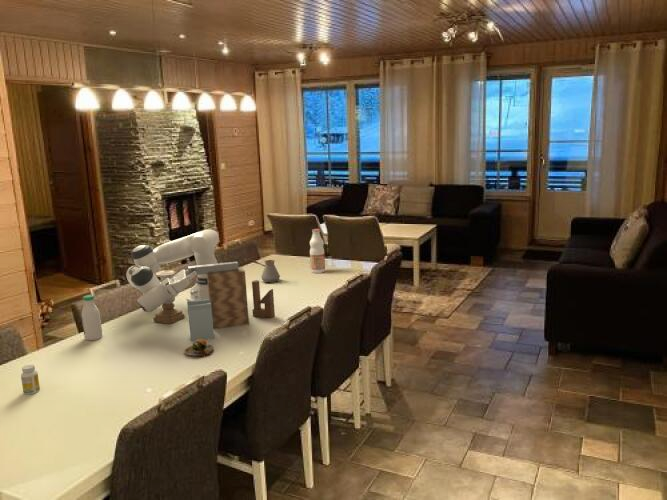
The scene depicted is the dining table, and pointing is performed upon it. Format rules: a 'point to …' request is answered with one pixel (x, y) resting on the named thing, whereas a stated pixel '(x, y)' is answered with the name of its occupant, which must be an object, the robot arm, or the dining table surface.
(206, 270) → the bar
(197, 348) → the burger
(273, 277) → the coffee pot
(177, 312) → the candle holder
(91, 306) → the milk bottle
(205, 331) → the block
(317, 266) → the fruit juice
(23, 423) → the dining table surface
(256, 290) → the wooden block
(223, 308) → the brown tall rectangular box
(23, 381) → the supplement bottle
